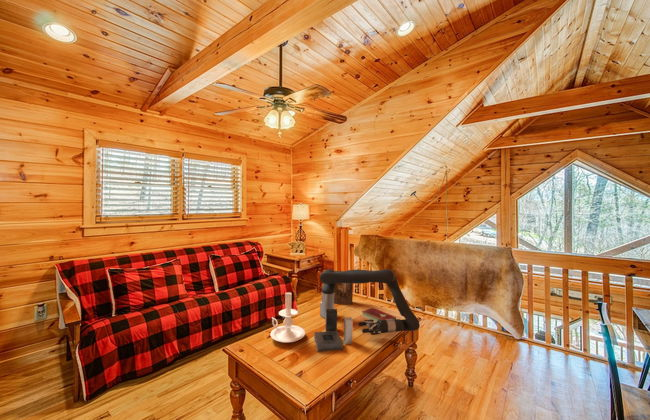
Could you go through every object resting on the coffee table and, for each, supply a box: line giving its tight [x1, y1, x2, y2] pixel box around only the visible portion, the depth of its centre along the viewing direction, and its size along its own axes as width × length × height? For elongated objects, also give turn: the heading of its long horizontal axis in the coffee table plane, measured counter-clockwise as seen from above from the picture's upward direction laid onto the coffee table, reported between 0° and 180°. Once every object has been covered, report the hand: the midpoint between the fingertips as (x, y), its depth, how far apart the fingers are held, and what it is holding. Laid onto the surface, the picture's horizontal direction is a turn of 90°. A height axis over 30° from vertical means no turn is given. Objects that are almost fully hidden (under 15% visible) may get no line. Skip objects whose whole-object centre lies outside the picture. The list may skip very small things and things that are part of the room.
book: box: [334, 270, 354, 305], centre depth 220 cm, size 16×6×25 cm, turn 84°
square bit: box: [343, 316, 354, 345], centre depth 160 cm, size 4×4×14 cm
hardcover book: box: [361, 306, 397, 322], centre depth 192 cm, size 12×21×4 cm, turn 40°
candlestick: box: [270, 292, 306, 344], centre depth 164 cm, size 21×25×28 cm
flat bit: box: [324, 308, 338, 332], centre depth 174 cm, size 7×2×14 cm, turn 100°
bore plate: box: [313, 330, 344, 353], centre depth 157 cm, size 14×14×4 cm
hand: (360, 327), depth 161 cm, fingers open, 8 cm apart
